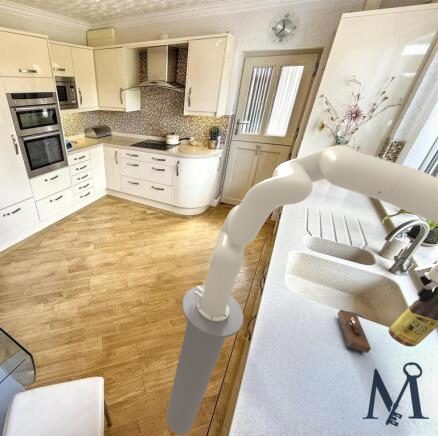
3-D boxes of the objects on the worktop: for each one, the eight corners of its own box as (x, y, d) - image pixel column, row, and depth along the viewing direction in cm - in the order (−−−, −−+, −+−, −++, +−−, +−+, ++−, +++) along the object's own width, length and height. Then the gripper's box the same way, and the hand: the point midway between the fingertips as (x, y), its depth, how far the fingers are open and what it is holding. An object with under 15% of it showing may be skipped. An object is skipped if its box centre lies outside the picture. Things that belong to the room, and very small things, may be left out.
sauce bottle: (394, 344, 67) (438, 295, 58) (382, 326, 73) (422, 278, 63) (422, 352, 66) (473, 303, 56) (408, 333, 71) (453, 285, 61)
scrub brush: (334, 317, 88) (342, 306, 85) (350, 322, 87) (359, 311, 83) (345, 350, 77) (355, 339, 74) (363, 356, 75) (374, 345, 72)
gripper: (548, 263, 50) (481, 318, 59) (435, 229, 60) (393, 280, 69) (559, 279, 45) (485, 336, 54) (435, 239, 56) (390, 292, 65)
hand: (434, 304), depth 62 cm, fingers closed on sauce bottle, 4 cm apart
